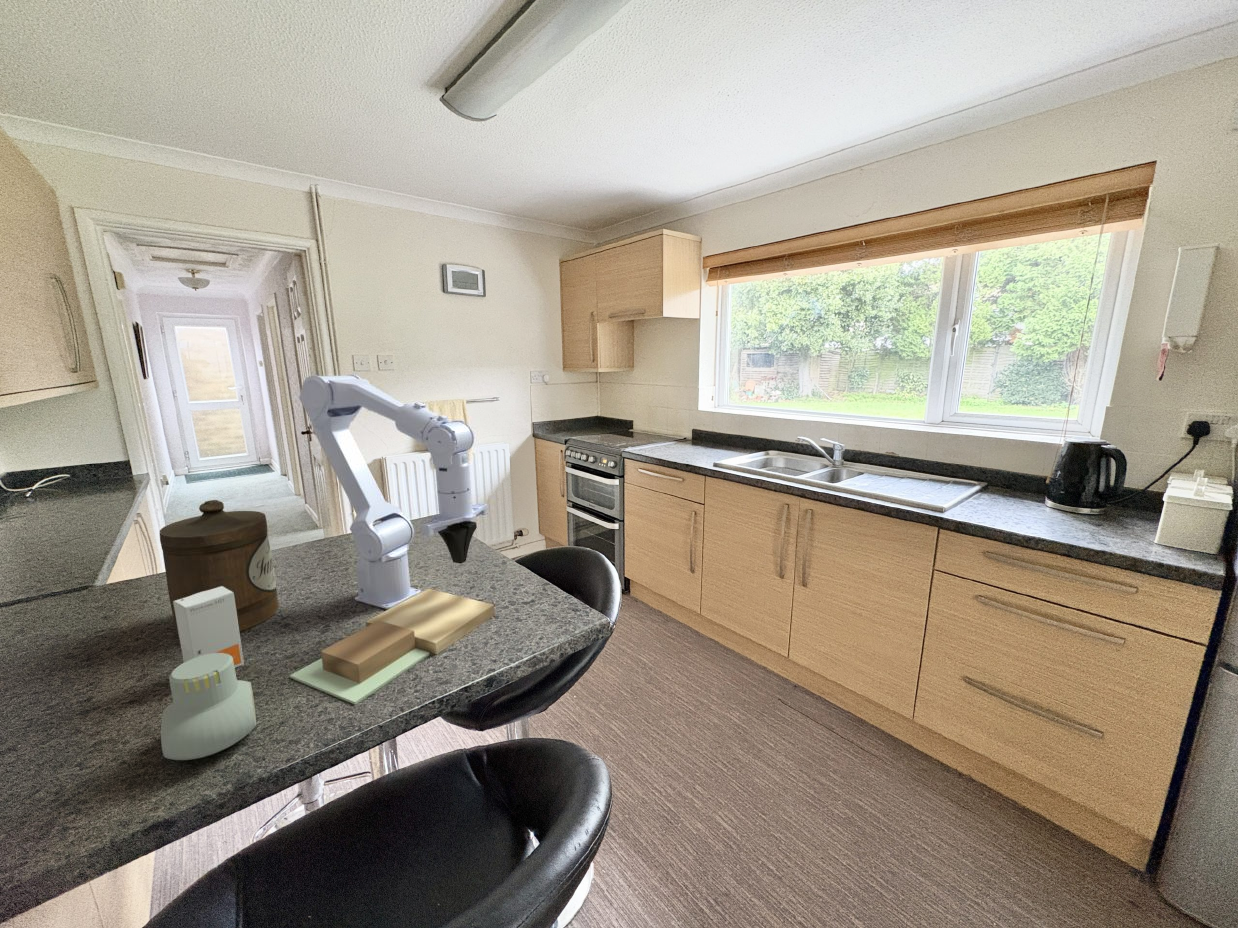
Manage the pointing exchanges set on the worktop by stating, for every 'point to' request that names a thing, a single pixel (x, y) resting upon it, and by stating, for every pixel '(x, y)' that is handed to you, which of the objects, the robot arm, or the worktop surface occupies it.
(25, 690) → the worktop surface
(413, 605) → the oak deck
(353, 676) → the walnut tile
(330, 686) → the sage mat
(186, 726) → the air freshener
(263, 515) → the wooden container
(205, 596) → the skincare box
